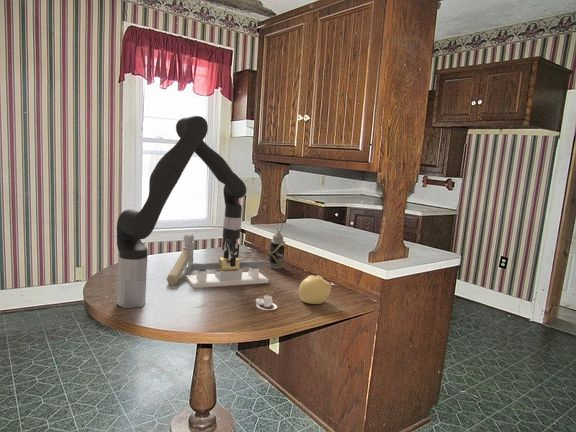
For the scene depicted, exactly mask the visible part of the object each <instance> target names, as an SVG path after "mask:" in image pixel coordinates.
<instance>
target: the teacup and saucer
mask: <svg viewBox="0 0 576 432" xmlns="http://www.w3.org/2000/svg"><path fill="white" fill-rule="evenodd" d="M273 301H274V300H273V297H272V296H271V295H263V298H260V297H259V298H256V299H255V303H256V307H257V308H258V309H260V310H263V311H274V310H276V309H277V308H278V306H277V304H275V303H274V302H273ZM261 306H263V307H264V308H263V307H261ZM271 306H273V307H272V308H270V307H271Z"/></svg>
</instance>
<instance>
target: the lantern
mask: <svg viewBox="0 0 576 432" xmlns="http://www.w3.org/2000/svg"><path fill="white" fill-rule="evenodd" d="M279 220H280V223H281V224H283V222H282V219H281V218H278V219H277V223H276V224H278V223H279ZM276 230H277V233H275V234H273V235H272V240H270V244H269V250H268V258H267V259H268V267H269V268H270V269H274V270H281V269H282V268H283V265H284V261H285V249H286V248H285V247H286V245H287V244H286V241H284V235H282V234H281V232H282V230H283V226H281V227H280V231H279V230H278V228H276Z"/></svg>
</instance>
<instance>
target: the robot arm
mask: <svg viewBox="0 0 576 432" xmlns="http://www.w3.org/2000/svg"><path fill="white" fill-rule="evenodd" d="M208 126H209V125H208V122H207V120H206V119H205V118H204V117H203V116H201V115H191V116H186V117H182V118H180V119H178V121H177V122H176V124H175V131H176V134H177V136H178V137H179V139H178V140H177V142H176V143H175V145H174V146H173V147H171V148H170V149H169V150H168V151H167V152H166V153H165V154H164V155H163V156H162V157H161V158H160V159H159V160H158V161H157V163H156V165H155V167H154V169H153V170H152V172H151V174H150V176H149V183H148V187H149V188H148V196H147V199H146V200H145V202H144V204H143V207H142V208H141V209H140V210H136V209H125V210H123V211H122V212H121V213H120V214H119V215H118V217H117V220H116V221H117V223H116V247H117V250H118V252H119V254H118V279H117V306H119V307H121V308H123V309H133V308H142V307H143V306H145V304H146V297H147V296H146V295H147V294H146V292H147V273H148V272H147V271H148V257H149V256H148V253H149V250H148V248H147V247H146V245H145V244H144V243H143V242H142V240H144V239H147V238H148V237H149V236H150V235H151V234H152V233H153V231H154V230H155V227H156V225H157V222H158V220H159V218H160V215H161V213H162V211H163V209H164V206H165V204H166V203H167V201H168V199H169V198H170V196H171V194H172V191H173V190H174V188H175V187H176V185H177V183H178V182H179V180H180V177H181V176H182V175H183V172H184V171H185V169H186V167H187V166H188V164H189V162H190V161H191V158H192V156H193V155H194V154H196V155H197V156H198V158H200V160H202V161H203V163H204V164H205V165H206V167H207V168H208V169H209V170H210V171H211V173H212V175H214V177H215V178H216V179H217V181H218V182H220V183H221V184H223V185H224V186H223V199H224V205H225V209H224V217H223V228H222V246H221V247H222V248H221V249H222V252H223V258H229V256H230V257H231V258H230V266H231V267H234V266H235V264H236V258H238V259H239V257H240V254H239V253H240V243H237V240H239V239H240V238H241V229H242V214H243V213H242V212H243V211H242V210H243V207H242V204H241V203H239V199H242V198H243V197H245V196H246V194H247V192H248V191H247V190H248V189H247V187H246V184H245V182H244V181H243V180H242V179H241V177H239V176H238V174H236V173H235V172H234V171H233V170H232V169H231V167H230V166H229V164H228V163H227V161H226V159H224V158H223V157H222V156H221V154H219V153H218V152H217V151H215V149H212V148H211V147H210V146H209V145H208V144H207V143H206V142H205V141H204V139H205V138H206V136H207V134H208V131H209V130H208V129H209V127H208Z"/></svg>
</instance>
